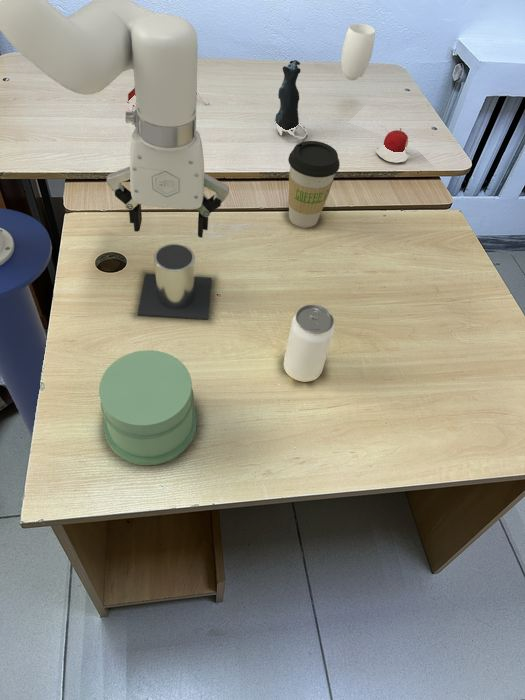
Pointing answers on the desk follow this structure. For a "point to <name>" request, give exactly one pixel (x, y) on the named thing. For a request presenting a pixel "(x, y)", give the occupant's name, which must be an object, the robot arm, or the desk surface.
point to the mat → (193, 311)
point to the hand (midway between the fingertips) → (169, 228)
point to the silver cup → (175, 275)
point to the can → (308, 342)
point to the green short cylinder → (148, 407)
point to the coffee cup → (310, 180)
